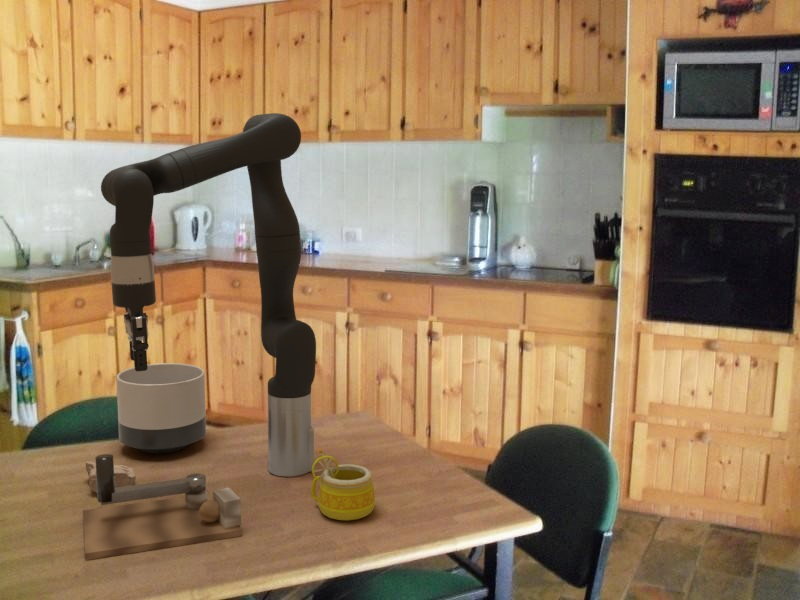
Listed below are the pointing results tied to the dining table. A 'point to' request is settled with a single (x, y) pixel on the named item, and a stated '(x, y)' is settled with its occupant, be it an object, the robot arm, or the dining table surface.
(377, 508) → the dining table surface
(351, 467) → the mug
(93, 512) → the board
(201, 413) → the planter
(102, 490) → the lever
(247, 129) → the robot arm
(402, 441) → the dining table surface
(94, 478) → the stone
